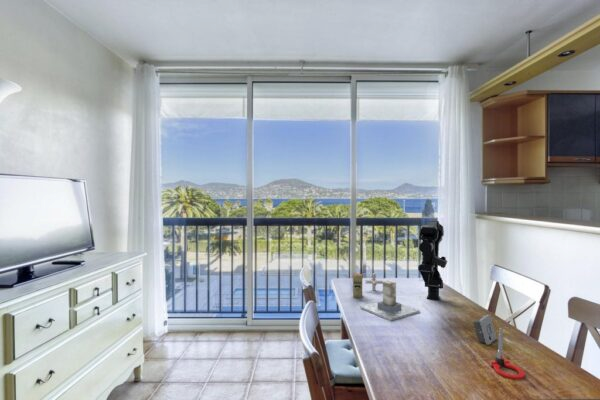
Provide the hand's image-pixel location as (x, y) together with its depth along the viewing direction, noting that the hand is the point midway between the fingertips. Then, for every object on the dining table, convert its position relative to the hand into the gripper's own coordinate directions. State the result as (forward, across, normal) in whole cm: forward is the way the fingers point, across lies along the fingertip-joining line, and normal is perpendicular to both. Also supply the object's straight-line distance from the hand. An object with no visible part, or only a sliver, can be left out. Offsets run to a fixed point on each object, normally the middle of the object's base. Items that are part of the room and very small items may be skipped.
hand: (428, 282), depth 169 cm
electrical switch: (+14, -27, -26) cm, 40 cm away
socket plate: (+13, -12, +16) cm, 24 cm away
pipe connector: (+12, +17, +34) cm, 40 cm away
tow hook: (+15, -49, -34) cm, 62 cm away
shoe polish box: (+13, +1, +38) cm, 40 cm away
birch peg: (+12, -12, +16) cm, 24 cm away
